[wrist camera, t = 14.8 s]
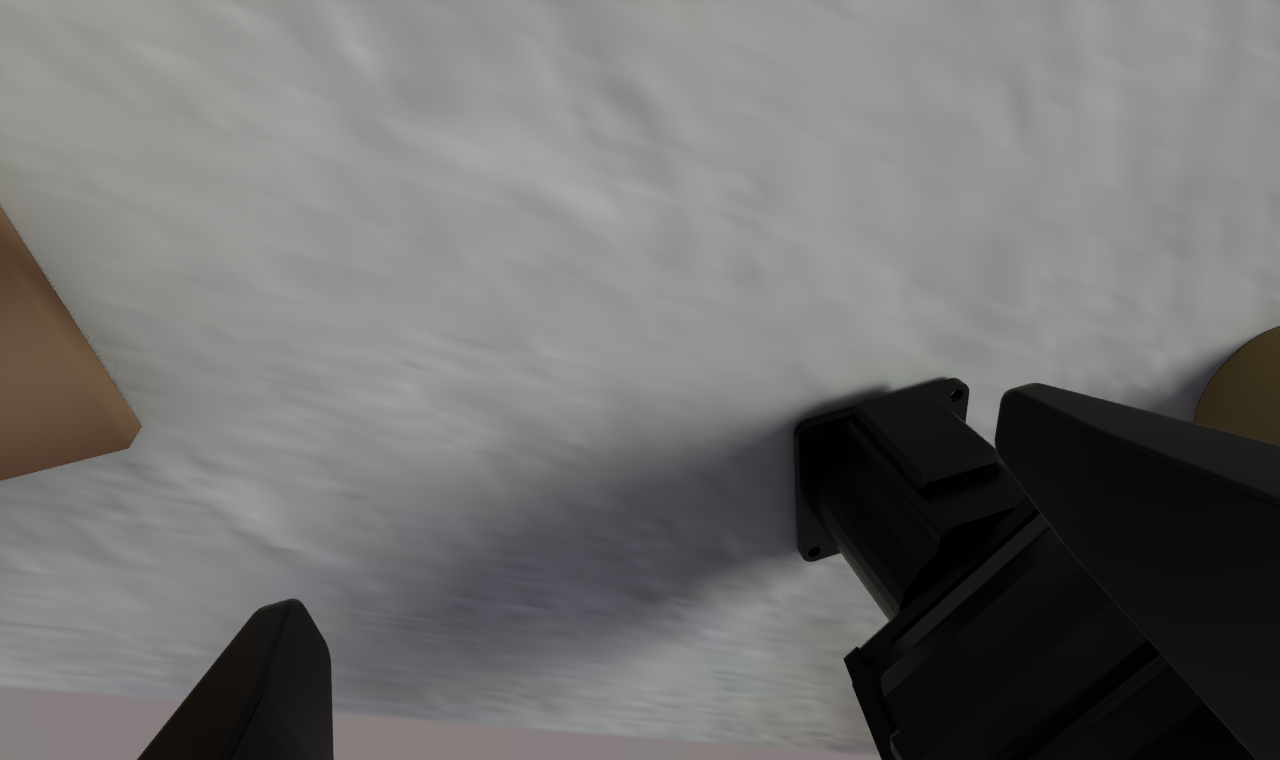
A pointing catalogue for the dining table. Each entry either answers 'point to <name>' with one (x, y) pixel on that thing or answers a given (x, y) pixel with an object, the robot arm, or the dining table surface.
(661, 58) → the dining table surface
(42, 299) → the rest board
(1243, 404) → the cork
